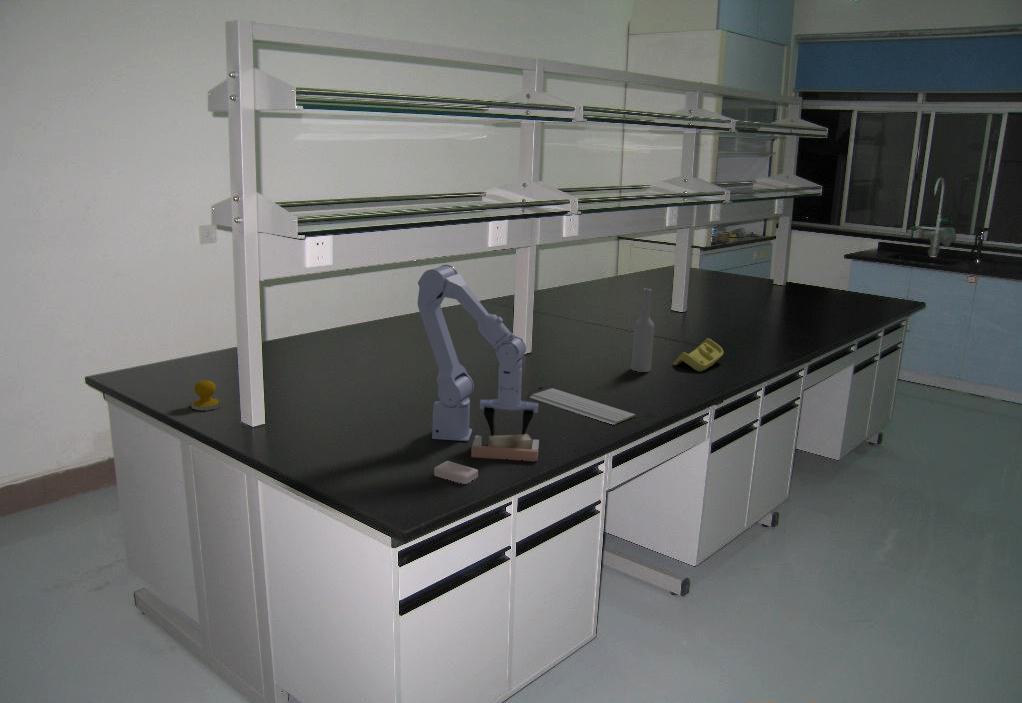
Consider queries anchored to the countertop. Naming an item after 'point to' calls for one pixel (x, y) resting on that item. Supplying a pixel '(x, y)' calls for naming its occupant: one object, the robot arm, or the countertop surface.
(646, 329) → the bottle
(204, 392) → the doorknob
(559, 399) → the baseboard molding
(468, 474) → the soap bar
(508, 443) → the slat block
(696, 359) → the plastic component
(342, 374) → the countertop surface
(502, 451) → the block with end panels
